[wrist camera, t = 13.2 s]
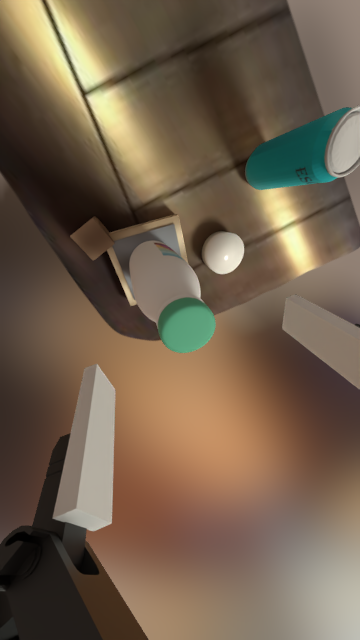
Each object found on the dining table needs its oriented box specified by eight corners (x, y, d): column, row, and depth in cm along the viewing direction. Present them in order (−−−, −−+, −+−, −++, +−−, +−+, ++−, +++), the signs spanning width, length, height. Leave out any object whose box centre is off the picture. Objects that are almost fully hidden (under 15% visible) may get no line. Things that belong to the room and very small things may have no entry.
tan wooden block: (75, 232, 28) (69, 236, 25) (96, 216, 28) (92, 217, 25) (96, 254, 30) (93, 260, 27) (115, 239, 30) (114, 243, 27)
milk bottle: (141, 293, 33) (161, 381, 16) (120, 250, 29) (119, 312, 12) (181, 276, 33) (240, 346, 17) (166, 231, 29) (226, 266, 12)
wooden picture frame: (102, 234, 29) (100, 237, 27) (174, 214, 30) (179, 214, 28) (130, 300, 36) (130, 306, 34) (188, 281, 37) (193, 286, 35)
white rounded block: (198, 237, 33) (205, 239, 31) (234, 226, 34) (243, 228, 32) (204, 273, 37) (210, 278, 35) (236, 263, 38) (244, 267, 36)
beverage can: (260, 196, 33) (346, 190, 20) (235, 180, 30) (314, 163, 18) (279, 157, 30) (388, 124, 18) (253, 136, 28) (358, 82, 16)
